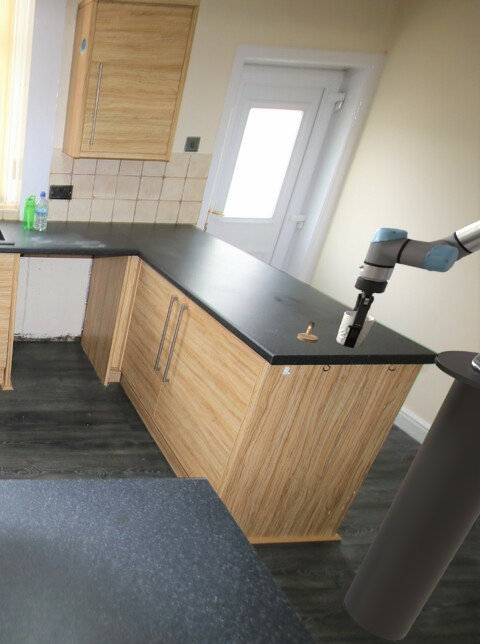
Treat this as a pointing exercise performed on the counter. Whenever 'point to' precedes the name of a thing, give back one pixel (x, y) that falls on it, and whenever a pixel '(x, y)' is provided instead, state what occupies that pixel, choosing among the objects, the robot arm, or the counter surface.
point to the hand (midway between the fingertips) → (348, 340)
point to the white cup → (348, 321)
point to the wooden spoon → (308, 334)
